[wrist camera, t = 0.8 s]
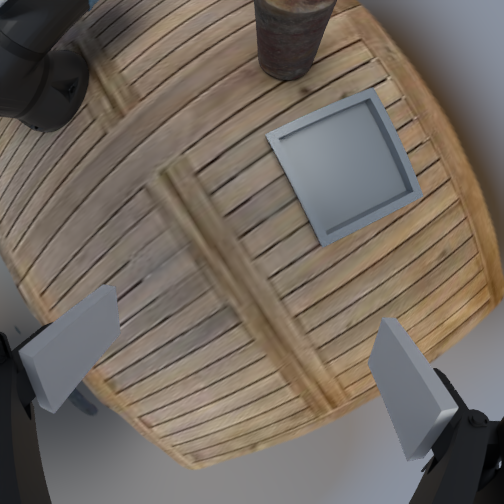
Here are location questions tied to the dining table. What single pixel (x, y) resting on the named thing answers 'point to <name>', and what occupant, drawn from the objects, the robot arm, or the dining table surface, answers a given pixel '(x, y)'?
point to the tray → (345, 165)
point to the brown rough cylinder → (290, 34)
